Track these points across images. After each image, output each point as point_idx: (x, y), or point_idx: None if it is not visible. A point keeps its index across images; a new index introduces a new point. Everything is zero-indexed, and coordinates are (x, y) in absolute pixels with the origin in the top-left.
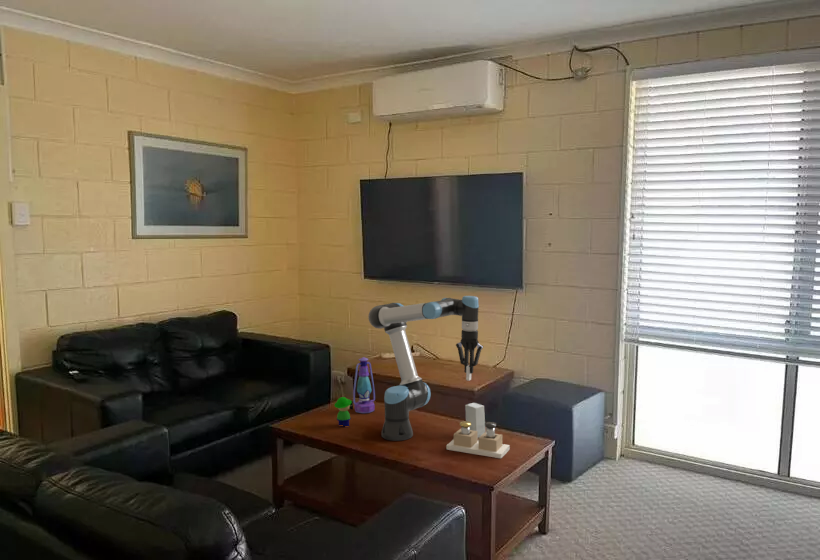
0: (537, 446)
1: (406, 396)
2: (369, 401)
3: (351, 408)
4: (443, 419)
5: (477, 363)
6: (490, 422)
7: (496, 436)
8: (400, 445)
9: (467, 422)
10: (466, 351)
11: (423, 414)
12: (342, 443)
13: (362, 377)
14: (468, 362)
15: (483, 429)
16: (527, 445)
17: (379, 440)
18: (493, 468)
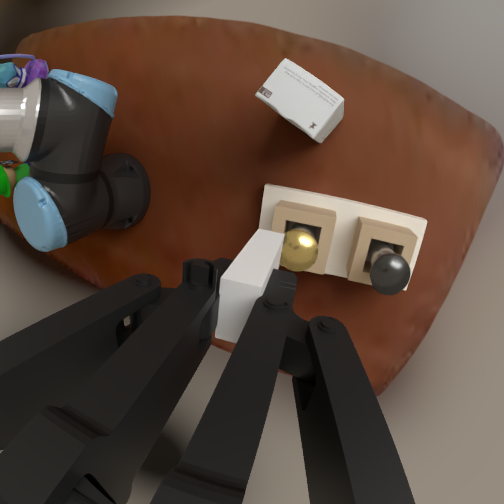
0: (484, 182)
1: (62, 227)
2: (30, 68)
3: (16, 162)
4: (185, 28)
5: (347, 338)
6: (390, 261)
7: (399, 243)
8: (149, 249)
9: (302, 245)
10: (128, 494)
11: (132, 24)
12: (69, 261)
13: None
14: (207, 305)
15: (338, 121)
16: (463, 178)
17: (104, 230)
18: (383, 340)
